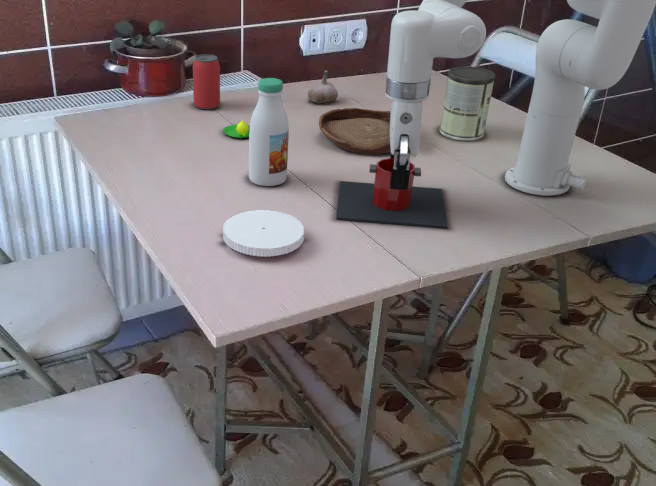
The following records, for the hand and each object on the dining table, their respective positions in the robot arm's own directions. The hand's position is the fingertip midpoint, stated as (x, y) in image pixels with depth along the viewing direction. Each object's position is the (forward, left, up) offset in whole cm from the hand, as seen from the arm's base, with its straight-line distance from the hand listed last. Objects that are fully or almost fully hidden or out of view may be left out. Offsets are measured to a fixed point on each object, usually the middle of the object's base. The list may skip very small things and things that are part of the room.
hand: (398, 177), depth 139 cm
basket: (+21, -25, -6) cm, 34 cm away
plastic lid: (+10, +28, -6) cm, 30 cm away
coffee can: (+6, -43, -6) cm, 44 cm away
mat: (0, +1, -6) cm, 6 cm away
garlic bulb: (+43, -40, -6) cm, 60 cm away
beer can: (+63, -18, -6) cm, 66 cm away
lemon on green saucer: (+45, -9, -6) cm, 47 cm away
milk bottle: (+25, +7, -6) cm, 27 cm away
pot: (+1, +1, -5) cm, 5 cm away
